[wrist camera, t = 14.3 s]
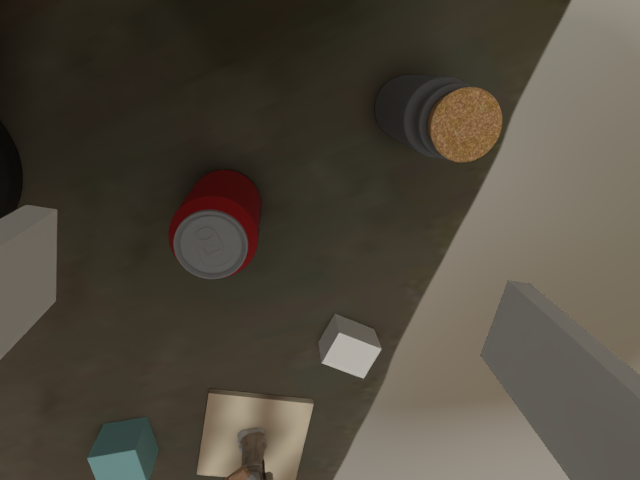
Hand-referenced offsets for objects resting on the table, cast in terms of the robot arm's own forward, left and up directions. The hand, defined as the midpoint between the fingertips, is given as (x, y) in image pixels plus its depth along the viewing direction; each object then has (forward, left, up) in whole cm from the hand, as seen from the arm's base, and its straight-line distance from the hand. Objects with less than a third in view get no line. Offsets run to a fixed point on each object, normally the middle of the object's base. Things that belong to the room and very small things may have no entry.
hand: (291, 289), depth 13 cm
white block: (+11, -20, -32) cm, 39 cm away
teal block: (-11, -37, -32) cm, 50 cm away
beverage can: (-4, -7, -32) cm, 33 cm away
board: (+3, -35, -32) cm, 47 cm away
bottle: (+11, +5, -32) cm, 34 cm away
